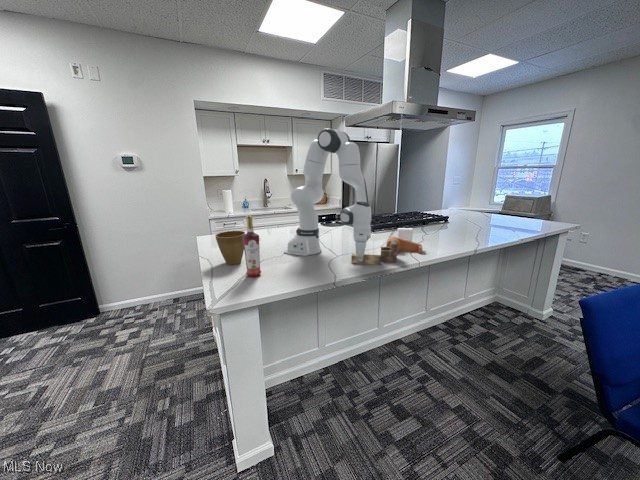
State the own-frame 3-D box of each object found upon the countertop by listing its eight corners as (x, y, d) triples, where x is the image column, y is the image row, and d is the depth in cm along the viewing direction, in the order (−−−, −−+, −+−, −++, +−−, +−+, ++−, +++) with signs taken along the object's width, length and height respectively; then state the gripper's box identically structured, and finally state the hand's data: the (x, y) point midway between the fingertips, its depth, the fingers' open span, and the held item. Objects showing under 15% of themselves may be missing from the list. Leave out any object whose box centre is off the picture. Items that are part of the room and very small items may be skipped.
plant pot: (239, 256, 151) (236, 229, 147) (253, 262, 140) (250, 233, 136) (213, 262, 141) (210, 233, 137) (226, 269, 130) (223, 238, 126)
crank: (386, 252, 155) (386, 239, 153) (386, 248, 162) (387, 236, 160) (422, 255, 149) (423, 241, 147) (420, 251, 157) (422, 238, 155)
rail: (351, 262, 138) (351, 255, 137) (352, 260, 141) (352, 253, 140) (380, 264, 134) (380, 257, 133) (380, 262, 138) (380, 255, 137)
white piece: (397, 249, 160) (398, 230, 157) (395, 245, 168) (396, 227, 165) (412, 249, 159) (414, 230, 155) (410, 245, 167) (411, 227, 164)
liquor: (247, 279, 119) (241, 218, 111) (244, 273, 125) (239, 215, 118) (263, 276, 121) (258, 216, 114) (260, 271, 128) (255, 214, 121)
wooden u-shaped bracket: (380, 261, 139) (381, 243, 136) (380, 256, 146) (381, 239, 144) (396, 262, 137) (397, 244, 135) (395, 257, 145) (396, 240, 142)
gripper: (357, 229, 145) (356, 253, 148) (353, 238, 125) (353, 265, 129) (369, 229, 143) (368, 253, 147) (367, 239, 124) (366, 266, 128)
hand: (361, 259), depth 138 cm, fingers closed on rail, 3 cm apart
